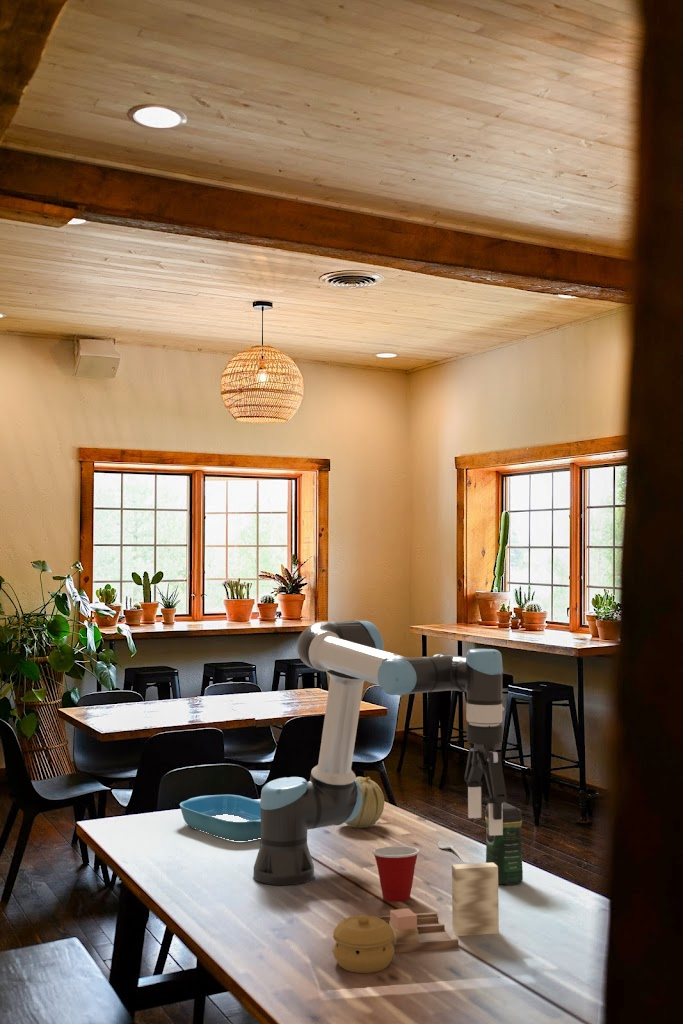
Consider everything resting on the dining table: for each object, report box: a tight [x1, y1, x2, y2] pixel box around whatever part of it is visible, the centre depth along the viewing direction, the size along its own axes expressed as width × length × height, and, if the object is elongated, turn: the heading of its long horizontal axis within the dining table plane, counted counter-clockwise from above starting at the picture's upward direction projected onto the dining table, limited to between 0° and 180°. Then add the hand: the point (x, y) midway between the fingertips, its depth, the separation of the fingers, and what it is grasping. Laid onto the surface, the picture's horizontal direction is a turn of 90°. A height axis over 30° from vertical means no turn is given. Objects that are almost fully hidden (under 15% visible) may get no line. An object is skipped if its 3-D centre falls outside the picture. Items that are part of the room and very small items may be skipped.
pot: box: [332, 914, 395, 974], centre depth 185 cm, size 12×12×10 cm
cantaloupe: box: [345, 776, 385, 829], centre depth 290 cm, size 15×15×15 cm
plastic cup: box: [372, 845, 420, 903], centre depth 223 cm, size 11×11×12 cm
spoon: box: [437, 839, 471, 864], centre depth 261 cm, size 4×21×2 cm, turn 18°
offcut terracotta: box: [389, 908, 417, 931], centre depth 196 cm, size 4×4×2 cm
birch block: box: [451, 862, 500, 937], centre depth 201 cm, size 9×3×14 cm, turn 100°
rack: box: [376, 912, 459, 954], centre depth 199 cm, size 13×16×3 cm
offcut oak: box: [389, 921, 418, 943], centre depth 196 cm, size 4×6×3 cm
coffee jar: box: [484, 802, 524, 886], centre depth 240 cm, size 10×8×19 cm
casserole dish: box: [179, 794, 261, 841], centre depth 287 cm, size 37×22×7 cm, turn 43°
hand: (484, 826), depth 203 cm, fingers open, 13 cm apart
